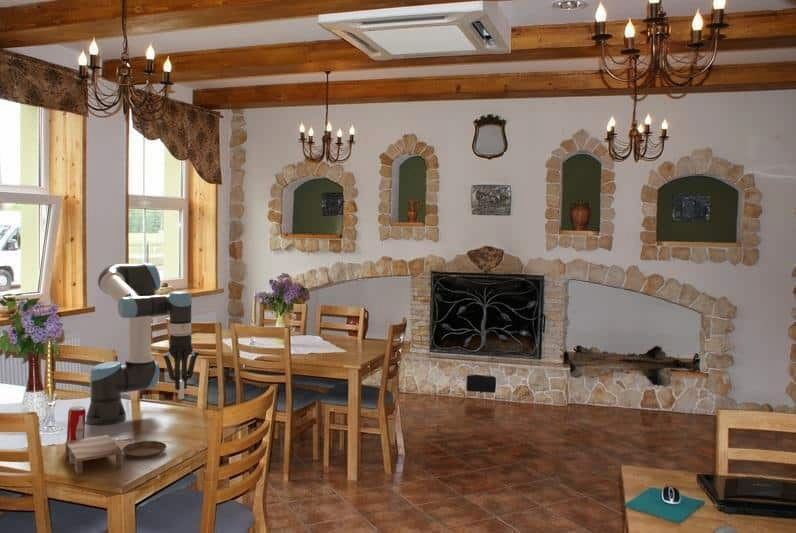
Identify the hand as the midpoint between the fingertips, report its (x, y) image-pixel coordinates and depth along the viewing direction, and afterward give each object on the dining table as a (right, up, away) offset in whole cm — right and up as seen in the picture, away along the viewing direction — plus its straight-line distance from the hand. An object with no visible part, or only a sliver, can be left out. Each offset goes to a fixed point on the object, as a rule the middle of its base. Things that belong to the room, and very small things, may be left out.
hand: (180, 398), depth 252 cm
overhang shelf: (-25, -19, -16) cm, 35 cm away
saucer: (-11, -19, -6) cm, 23 cm away
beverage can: (-38, -18, -1) cm, 42 cm away
